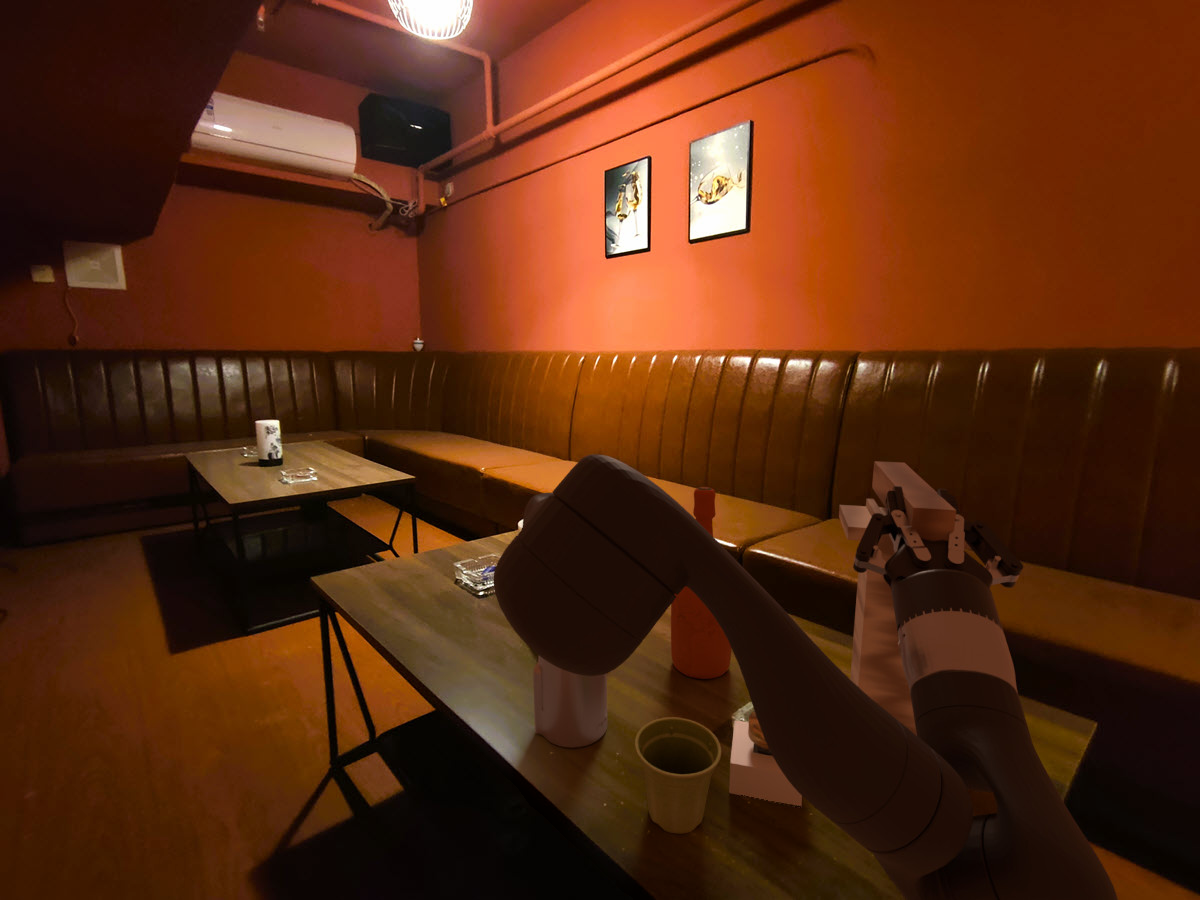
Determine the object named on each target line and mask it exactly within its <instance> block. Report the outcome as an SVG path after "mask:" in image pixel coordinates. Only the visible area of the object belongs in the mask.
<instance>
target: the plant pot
mask: <svg viewBox="0 0 1200 900" xmlns="http://www.w3.org/2000/svg"><path fill="white" fill-rule="evenodd" d="M634 748H635V752H636V754H637V757H638V758H639V761H640V763H641V766H642V770H643V776H644V777H643V779H644V784H645V790H646V791H645V792H646V800H647V801H646V802H647V807H648V814H649V816H650V819H651V820H652V822H653V823H655V824H656V825H658V826H659V827H660V828H662V830H664V831H665V832H667V833H671V834H687V833H690V832H693V831H694V830H695V828H697V827H698V826H699V825H700V824H701V823H702V822H703V820H704V819H703V818H704V814H705V809H706V803H707V798H708V794H709V788H710V783H711V778H712V775H713V773H714V772H715V768H717V766H718V764H719V763H720V760H721V758H722V757H721V756H722V746H721V743H720V741H719V739H718V737H717V736H716V735H715V734H714V733H713V732H712V731H711V730H710V729H709V728H707V727H706V726H704V725H703V724H702V723H699V722H697V721H694V720H692V719H688V718H685V717H684V718H682V717H677V716H676V717H675V716H671V717H670V716H669V717H661V718H657V719H655V720H651V721H650V722H648V723H646V724H645V725H643V726H642V727H641V728H640V729H639V730H638V732H637V734H636V736H635V740H634Z"/></svg>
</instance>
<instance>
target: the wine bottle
mask: <svg viewBox="0 0 1200 900" xmlns="http://www.w3.org/2000/svg"><path fill="white" fill-rule="evenodd" d="M716 496H717V495H716V492H715V489H714V488H712V487H709V486H700V487H696V488H695V489H694V491H693V503H694V504H693V510H692V511H693V512H692V514H693V517H694V518H695V519H696V520H697V521H698V522H699V523H700V524H701V525H702V526H703V527H704V528H705V529H706V530H707V531H708V532H709V533H710V534H711V535H712V536H713V537H714V529H713V528H714V527H713V518H715V517H716V502H715V501H716ZM674 595H675V596H676V598H675V600H674V601H673V602H672V603H671V605H670V651H671V654H670V655H671V661H672V664H673V666H674V667H675V668H676V670H677V671H679V672H680V673H681V674H683V675H685V676H687V677H690V678H693V679H697V680H698V679H701V680H709V679H710V680H712V679H715V678H718V677H721V676H722V675H724V674H726V672H727V671H728V670H729V668H730V666H731V658H732V648H731V646H730V643H729V641H728V639H727V637H726V635H725V633H724V632H723V630H722V628H721V626H720V625H719V623H718V622H717V620H716V619H715V617H714V616H713V614H712V613H711V612H710V611H709V609H708V608H707V607H706V605H705V604H704V603H703V602H702V601H701V600H700V599H699V597H698V596H697V595H696V594H695V593H694V592H693V591H692V590H691V589H690V588H688V587H687V586H685V587H684V588H683V589H682V590H681V592H680V593H679V594H678V595H676V594H674Z"/></svg>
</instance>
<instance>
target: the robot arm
mask: <svg viewBox="0 0 1200 900" xmlns="http://www.w3.org/2000/svg"><path fill="white" fill-rule="evenodd" d="M936 492H937V494H939V495H940V496H941V497H942V498H943V499H944V500H946V501H947V502H948V503H949V504H950V505H951V506H952V507H953V508H954V509H955V510H956V518H955V526H954V531H949V535H948V541H945V540H938V541H930V540H926V539H920V537H919V535H918V533H917V531H916V529H915V528H911V526H909V521H908V519H907V517H906V515H905V512H906V508H905V503H904V498H903V490H902V487H901V486H894V487H893V490H892V491H888V493H887V497H886V501H885V506H884V508H886V514H887V515H883V514H880V513H875V514H873V515H872V517H871V519H870V522H869V524H868V526H867V528H866V530H865V532H864V534H863V537H862V539H861V541H859V544H858V545H857V547H856V551H855V555H854V560H853V564H852V565H853V566H852V567H853V570H854V571H855V572H857V573H858V572H859V573H864V572H866V570H867V569H868V570H871V571H874V572H876V573H879V574H882V575H883V578H884V580H885V581H886V583H887V584H888V585H889V586H890V588H891V592H892V599H893V605H894V612H895V619H896V625H897V632H898V638H899V643H898V647H899V653H900V655H901V659H902V664H903V669H904V673H905V676H906V679H907V682H908V686H909V690H910V694H911V701H912V707H913V714H914V720H915V726H916V732H917V736H916V735H915V734H914V733H913V732H911V731H910V730H909V729H908V728H907V727H905V726H904V725H903V724H902V723H901V722H899V721H898V720H897V719H896V718H895V717H893V716H892V715H891V714H890V713H888V712H887V711H886V710H885V709H883V708H882V707H881V706H880V705H879V704H877V703H876V702H875V701H874V700H872V699H871V698H870V697H869V696H868V695H867V694H866V693H864V692H863V691H862V690H861V689H860V688H859V687H858V686H857V685H856V684H854V683H853V682H852V681H851V680H850V678H849V677H848V676H847V675H846V674H845V673H844V671H842V670H841V669H840V668H839V666H837V665H836V664H835V662H833V661H832V660H831V659H830V658H829V656H827V654H825V653H824V651H823V650H821V648H820V647H819V646H818V645H817V644H816V643H815V642H814V641H813V640H812V638H810V637H809V635H807V634H808V633H806V632H805V631H804V630H803V628H801V627H800V625H799V624H797V622H796V621H795V620H794V619H793V618H792V617H791V616H790V615H789V613H788V612H787V611H785V609H784V608H783V607H782V606H781V605H780V604H779V603H778V601H776V599H774V598H773V597H772V595H770V594H769V593H768V592H767V590H766V589H765V588H764V587H763V586H762V585H761V584H760V583H759V582H758V581H757V580H756V579H755V578H754V577H753V576H752V575H751V574H750V573H749V572H748V571H747V570H746V569H745V568H744V567H743V566H742V565H741V564H740V563H739V561H737V560H736V559H735V558H734V556H732V555H731V553H730V552H729V551H728V550H727V549H726V548H725V547H723V545H722V544H721V543H720V542H719V541H718V540H717V539H716V538H715V537H714V535H713V536H712V535H711V534H710V533H709V532H708V531H707V530H706V529H705V528H704V527H703V526H702V525H701V524H700V523H699V522H698V521H697V520H696V517H695V516H694V515H692V514H691V513H690V512H689V511H687V510H686V509H685V508H684V506H682V505H681V504H680V503H679V502H678V501H677V500H676V499H675V498H673V497H672V496H671V495H670V494H668V493H667V492H666V491H665V490H664V489H662V487H661V486H659V485H658V484H656V483H655V482H654V481H652V480H651V479H649V478H648V477H647V476H645V475H644V474H643V473H641V472H640V471H638V470H637V469H635V468H633V467H631V466H630V465H628V464H627V463H624V462H623V461H621V460H619V459H616V458H614V457H611V456H608V455H604V454H595V453H594V454H593V453H592V454H588V455H585V456H584V457H582V458H581V459H580V460H578V462H577V463H576V464H575V465H574V466H573V467H572V468H571V469H570V471H569V472H567V474H566V475H565V476H564V477H563V479H561V481H560V482H559V484H558V485H557V486H555V488H554V489H553V491H552V492H541V493H537V494H535V495H533V496H532V497H530V499H529V500H528V502H526V503H527V504H526V505H525V508H524V511H523V512H524V513H523V517H522V526H521V530H520V531H519V532H518V534H517V535H515V537H514V538H513V539H512V540H511V542H509V544H508V546H507V547H506V548H505V549H504V551H503V552H502V554H501V555H500V557H499V560H498V561H497V563H496V566H495V568H494V570H493V571H494V572H493V579H492V580H493V588H494V594H495V597H496V599H497V602H498V605H499V607H500V609H501V611H502V613H503V615H504V617H505V619H506V620H507V622H508V623H509V624H510V626H511V628H512V630H513V631H514V632H515V633H516V635H518V637H519V638H520V639H521V640H522V641H523V642H524V643H525V645H526V646H528V647H529V648H530V649H531V650H532V651H533V652H534V653H535V654H536V655H537V656H538V662H537V663H536V665H535V666H534V667H533V669H532V670H533V671H532V674H533V675H532V676H533V677H532V679H533V681H532V682H533V703H534V704H533V706H534V708H533V709H534V733H535V734H537V735H538V734H539V735H541V736H543V737H544V738H545V739H546V740H547V741H548V742H550V743H552V744H553V745H555V746H559V747H563V748H571V749H573V748H582V747H585V746H589V745H592V744H594V743H596V742H597V741H598V740H600V739H601V738H602V737H603V736H604V735H605V733H606V731H607V728H608V674H609V673H610V672H612V671H614V670H616V669H618V668H619V667H620V666H621V665H622V664H624V663H625V662H626V661H627V660H628V659H629V658H630V657H631V656H632V655H633V654H634V652H635V651H636V650H637V649H638V647H639V646H640V645H641V644H642V643H643V641H644V640H645V639H646V638H647V636H648V634H650V633H651V631H652V629H654V627H655V626H656V625H657V624H658V622H659V620H661V618H662V617H663V615H664V614H665V613H666V612H667V610H668V609H669V607H671V603H672V602H673V601H674V600H675V598H676V596H675V595H674V594H676V595H678V594H679V593H680V592H681V590H682V589H683V588H684V587H685V586H687V587H688V588H690V589H691V590H692V591H693V592H694V593H695V594H696V595H697V596H698V597H699V599H700V600H701V601H702V602H703V603H704V604H705V605H706V607H707V608H708V609H709V611H710V612H711V613H712V614H713V616H714V617H715V619H716V620H717V622H718V623H719V625H720V626H721V628H722V630H723V632H724V633H725V635H726V637H727V639H728V641H729V643H730V646H731V651H732V652H733V654H734V657H735V659H736V661H737V664H738V666H739V669H740V672H741V674H742V678H743V681H744V683H745V686H746V689H747V692H748V695H749V699H750V700H751V701H750V702H751V705H752V707H753V710H754V711H755V714H756V717H757V720H758V722H759V725H760V728H761V730H762V733H763V736H764V739H765V741H766V743H767V746H768V748H769V750H770V752H771V754H772V756H773V757H774V759H775V761H776V763H777V764H778V766H779V768H780V769H781V771H782V772H783V774H784V775H785V776H786V778H787V779H788V781H789V782H790V783H791V784H792V786H793V787H794V788H795V789H796V790H797V791H798V792H799V793H800V794H801V795H802V798H804V799H805V800H806V801H807V802H808V803H809V804H810V805H812V806H813V807H814V808H815V809H816V810H817V811H819V812H820V813H821V814H822V815H824V816H825V817H826V818H827V819H828V820H829V821H831V822H832V823H833V824H835V825H836V826H837V827H839V828H840V829H841V830H842V831H843V832H844V833H846V834H847V835H848V836H849V837H851V838H852V839H853V840H854V841H856V843H858V844H859V845H860V846H862V847H863V848H865V849H866V851H867V850H868V851H869V852H870V853H871V854H872V855H873V856H874V858H875V859H876V860H877V862H878V863H879V865H880V866H881V868H882V869H883V871H884V872H885V874H887V877H889V880H891V882H892V884H893V885H894V886H895V887H896V888H897V890H898V891H899V893H900V894H901V895H902V897H903V898H904V900H1119V899H1118V894H1117V892H1116V889H1115V887H1114V885H1113V882H1112V880H1111V877H1110V876H1109V874H1108V872H1107V871H1106V868H1105V866H1104V865H1103V863H1102V861H1101V859H1100V858H1099V857H1098V855H1097V852H1095V850H1094V848H1093V847H1092V845H1091V844H1090V842H1089V841H1088V839H1087V837H1086V836H1085V835H1084V833H1083V831H1082V830H1081V828H1080V827H1079V825H1078V824H1077V822H1076V821H1075V819H1074V818H1073V816H1072V814H1071V812H1070V811H1069V809H1068V808H1067V806H1066V804H1065V803H1064V801H1063V798H1062V797H1061V795H1060V793H1059V792H1058V790H1057V788H1056V786H1055V784H1054V783H1053V780H1052V779H1051V777H1050V776H1049V774H1048V771H1047V770H1046V768H1045V766H1044V764H1043V762H1042V760H1041V758H1040V757H1039V754H1038V753H1037V750H1036V748H1035V745H1034V744H1033V740H1032V738H1031V737H1032V736H1031V734H1030V730H1029V727H1028V723H1027V719H1026V716H1025V713H1024V709H1023V706H1022V702H1021V699H1020V695H1019V693H1018V689H1017V682H1016V680H1017V679H1016V671H1015V667H1014V662H1013V658H1012V656H1011V653H1010V650H1009V649H1010V648H1009V645H1008V643H1007V639H1006V635H1005V632H1004V629H1003V625H1002V623H1001V619H1000V616H999V612H998V609H997V606H996V601H995V599H994V596H993V593H992V590H991V586H994V585H998V584H1000V585H1001V586H1002V587H1004V588H1009V589H1010V588H1014V586H1015V585H1016V583H1017V581H1018V579H1019V577H1020V575H1021V573H1022V571H1023V569H1024V564H1023V563H1022V562H1021V561H1020V559H1018V558H1017V557H1016V555H1015V554H1014V553H1013V552H1012V551H1011V550H1010V548H1009V547H1008V546H1007V545H1006V544H1005V543H1004V542H1003V541H1002V540H1001V539H1000V537H999V536H998V535H997V534H996V533H995V532H994V530H993V529H991V527H990V526H989V525H988V524H987V522H984V521H982V520H974V521H973V522H972V521H969V520H966V519H965V518H964V516H962V515H961V512H960V508H959V506H958V502H957V498H956V497H955V496H954V495H953V494H950V493H949V491H948V489H947V488H938V489H937V491H936ZM885 534H889V536H890V538H891V540H892V542H893V545H894V552H895V554H894V555H893V556H892V557H891V558H890V559H889V560H888V561H885V560H883V558H882V556H881V555H882V552H881V551H880V550H879V547H878V546H877V545H878V543H879V541H880V538H881V536H882V535H885ZM964 541H966V542H967V544H968V545H969V546H970V548H971V549H970V550H972V551H973V552H974V554H975V555H976V556H977V557H978V559H979V560H980V562H982V563H983V564H984V565H983V564H981V563H980V562H979V561H977V560H976V559H975V558H974V557H973V556H971V555H970V554H969V553H967V551H965V549H964ZM754 711H753V712H754ZM969 790H972V791H977V792H985V793H987V792H988V793H992V794H993V796H994V799H995V804H996V812H993V813H988V814H987V813H985V814H979V815H974V811H973V803H972V799H971V798H972V797H971V795H970V792H969Z"/></svg>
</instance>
